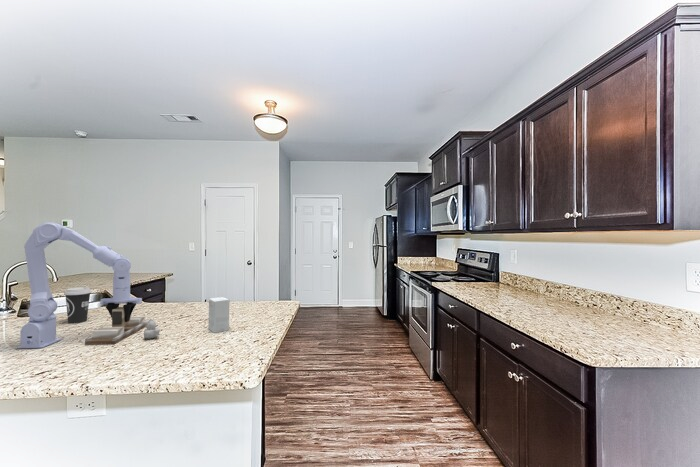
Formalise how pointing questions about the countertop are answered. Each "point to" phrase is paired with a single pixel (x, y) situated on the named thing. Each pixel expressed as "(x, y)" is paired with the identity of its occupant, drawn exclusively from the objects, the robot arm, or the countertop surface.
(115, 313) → the block
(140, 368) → the countertop surface
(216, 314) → the small box
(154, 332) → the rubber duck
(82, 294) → the coffee cup
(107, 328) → the rail board
